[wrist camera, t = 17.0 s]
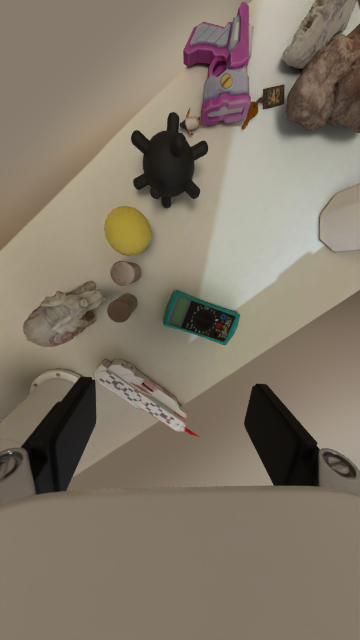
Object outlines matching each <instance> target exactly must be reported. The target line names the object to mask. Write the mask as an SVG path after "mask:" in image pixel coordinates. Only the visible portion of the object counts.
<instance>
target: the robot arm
mask: <svg viewBox="0 0 360 640" xmlns="http://www.w3.org/2000/svg"><path fill="white" fill-rule="evenodd" d="M95 424H96V390H95V380H92V378H91V377H81V376H79V375H78V374H76V373H74V372H71V371H68V370H62V369H56V370H50V371H47V372H44V373H42V374H41V375H40V376H38V377H37V378H36V379H35V380H34V381H33V383H32V385H31V387H30V395H29V396H28V397H27V398H26V399H25V400H24V401H23V402H22V403H21V404H20V405H19V406H17V407H16V408H15V409H14V410H13V411H12V412H11V413H10V414H9V415H8V416H7V417H6V418H5V419H4V420H3V421H1V422H0V640H360V471H359V470H358V468H357V467H356V466H355V464H353V463H352V462H351V461H350V460H349V459H348V458H346V457H345V456H344V455H342V454H341V453H339V452H337V451H334V450H332V449H328V448H323V449H321V450H320V449H319V448H318V447H317V442H316V441H315V440H314V439H313V437H312V436H311V435H310V434H309V433H308V432H307V430H306V429H305V428H304V427H303V426H302V425H301V424H300V422H299V421H298V420H297V419H296V418H295V417H294V416H293V414H292V413H291V412H290V411H289V410H288V409H287V407H286V406H285V405H284V404H283V403H282V402H281V401H280V399H279V398H278V397H277V396H276V395H275V394H274V393H273V391H272V390H271V389H270V388H269V387H268V386H267V385H266V384H256V385H255V386H253V387H252V391H251V395H250V400H249V404H248V408H247V413H246V417H245V422H244V425H245V428H246V430H247V432H248V434H249V436H250V439H251V441H252V443H253V445H254V446H255V449H256V451H257V453H258V455H259V457H260V459H261V460H262V463H263V464H264V467H265V468H266V471H267V473H268V475H269V476H270V478H271V481H272V483H273V485H274V486H219V487H218V486H215V487H214V486H213V487H162V488H124V489H95V490H75V491H74V490H72V491H66V490H67V488H68V485H69V483H70V481H71V478H72V476H73V474H74V472H75V470H76V467H77V465H78V463H79V461H80V458H81V456H82V454H83V452H84V449H85V447H86V445H87V443H88V440H89V438H90V436H91V434H92V431H93V429H94V427H95Z"/></svg>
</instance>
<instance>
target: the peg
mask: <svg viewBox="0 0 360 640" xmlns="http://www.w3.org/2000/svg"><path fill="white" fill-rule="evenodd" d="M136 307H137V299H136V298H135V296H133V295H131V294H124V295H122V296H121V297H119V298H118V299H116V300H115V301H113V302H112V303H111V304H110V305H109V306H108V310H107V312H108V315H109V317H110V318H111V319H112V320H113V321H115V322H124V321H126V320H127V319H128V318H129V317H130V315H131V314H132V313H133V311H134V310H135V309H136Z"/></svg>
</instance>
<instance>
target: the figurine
mask: <svg viewBox="0 0 360 640" xmlns="http://www.w3.org/2000/svg"><path fill="white" fill-rule="evenodd" d="M95 289H96V284H95V283H94V282H92V281H89V282H86V283H85V284H83V285H81V286H79V287H78V288H77V289H75V290H73V291H71V292H69V293H62V292H60V291H57V292H56V294H55V295H54V296H53V297H46V298H45V300H44V301H42V303H41V304H40V306H39V307H38V308H37V309H35V310H34V311H33V312H32V313H31V314H30V315H29V318H28V319H27V320H26V321H25V322H24V326H23V331H24V334H25V335H26V337H27V340H28V341H30V342H33V343H35V344H37V345H39V346H43V347H54V346H58V345H60V344H63V343H66V342H68V341H69V340H71V339H73V337H74V336H76V335H78V334H79V333H81V332H82V331H83V330H84V329H85V327H87V326H89V325H91V324H93V323H94V322H95V321H96V316H95V315H94V314H92V313H89V314H86V313H87V311H89V310H92V309H95V308H96V307H97V306H98V305H100V304H102V303H103V302H105V297H104V295H103V294H102V292H100V291H99V290H95ZM85 314H86V315H85Z"/></svg>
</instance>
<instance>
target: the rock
mask: <svg viewBox="0 0 360 640" xmlns="http://www.w3.org/2000/svg"><path fill="white" fill-rule="evenodd" d="M286 116H287V118H288V119H289V120H291V121H295V122H296V123H302V125H303V126H304V127H305V128H307V129H308V130H310V131H311V130H316V129H318V128H321V127H322V126H323V125H325V123H331V126H334V125H335V124H342V125H343V126H344V127H346V128H353V129H354V131H355V132H358V133H360V24H359V25H358V26H357V27H356V28H355V29H354V30H353V31H352V32H351V33H350V34H348V35H347V36H346V37H345V36H344V35H343V34H338V35H336V36H334V37H333V38H332V39H331V40H330V42H329V43H328V44H327V46H326V47H324V48H322V49H320V50H318V51H317V52H316V53H315V55H314V56H313V57H312V58H311V59H310V60H309V62H308V63H307V65H306V66H305V68H304V69H303V71H302V73H301V75H300V77H299V78H298V79H297V81H296V82H295V84H294V85H293V87H292V88H291V90H290V92H289V94H288V98H287V107H286Z"/></svg>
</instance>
